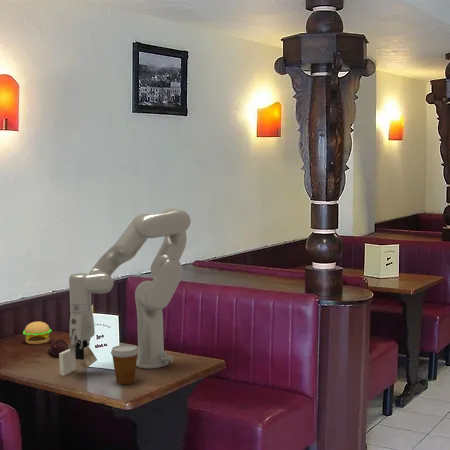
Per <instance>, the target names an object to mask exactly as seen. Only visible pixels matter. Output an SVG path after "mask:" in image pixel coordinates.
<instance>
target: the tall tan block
mask: <svg viewBox="0 0 450 450" xmlns="http://www.w3.org/2000/svg"><path fill="white" fill-rule="evenodd" d="M68 347H69V349H70V350H71V352H72V353H73V355H75V348H74V345H72V344H71V343H70V344H69V345H68ZM83 349H84V359H83V360H80V359H76V360H77V361H78V363H79V365H80V366H81V367H82V369H83V370H85V369H86V368H88V367H90V366H91V365H92V364H94V363H95V362H97V361H98V359H97V358H98V357H96V355H95V354H94V351H93V350H91V348H90V345H89V346H87V347H85V348H83Z"/></svg>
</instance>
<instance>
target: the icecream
mask: <svg viewBox="0 0 450 450" xmlns="http://www.w3.org/2000/svg"><path fill="white" fill-rule="evenodd" d="M48 345H50V347H49V349H47V354H48V355H54V357H55V356H56V357H58V358H59V353H61V352H64V351H66V350H68V349H69V347H68V346H69V345H68V343H67V342H66V341H65V340H63V339H62V338H61V339H60V338H59V339H57V340H55V339H49V341H48Z"/></svg>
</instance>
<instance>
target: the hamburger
mask: <svg viewBox="0 0 450 450" xmlns="http://www.w3.org/2000/svg"><path fill="white" fill-rule="evenodd" d="M50 333H52V329H51V328H50V326H49V325H48V324H47V323H46V322H43V321H41V320H40V321H33V322H30V323H28V324H27V325H26V326H25V328H24V330H23V331H22V334H23V335H25V343H27V344H28V345H42V344H45V343H49V340H51V338H50Z"/></svg>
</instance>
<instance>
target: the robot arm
mask: <svg viewBox="0 0 450 450" xmlns="http://www.w3.org/2000/svg"><path fill="white" fill-rule="evenodd" d="M191 221H192V220H191V216H190V215H189V214H188V212H187V211H185V210H183V209H179V208H178V209H177V208H172V207H171V208H166V209H165V210H163V211H162V212H161V213H156V214H148V213H140V214H138V215H136V216H135V217H134V218H133V219H132V220H131V222H130V223H129V225H128V226H127V227H126V229H125V230H124V231H123V232H122V234H121V235H120V236H119V238H118V239H117V240H116V242H115V243H114V244H113V245H112V246H111V247H109V249H108V250H107V251H106V252H105V253H104V254H103V255H102V256H100V257H99V259H98V260H97V261H96V263H95V264H94V265H93V267H92V268H91V269H90V270H89V272H88V273H86V272H85V273H84V272H83V273H82V272H81V273H80V272H79V273H78V272H76V273H72V274H70V275H69V278H68V285H69V286H68V288H69V312H70V313H69V315H70V317H69V338H70V339H69V340H70V345H71V344H72V345H74V348H75V359H76V360H77V359H80V360H83V359H84V349H83V348H85V347H87V346H89V347H90V340H91V338H93V337H94V336H95V334H96V333H95V319H94V314H93V310H92V294H107V293H109V292H110V291H111V290H112V289H113V287H114V283H115V282H114V279H113V277H112V274H114V272H115V271H116V270H117V269H118V268H119V267H121V266H122V265H124V264H125V263H126V262H127V263H128V262H129V261H131V260H133V259H134V257H135V256H136V255H137V253H138V252H139V251H140V249H141V248H142V247H143V246H144V245H145V243H146V242H147V240H148V239H157V238H163V241H162V244H161V245H160V248H159V250H158V252H157V253H156V255H155V258H154V259H153V261H152V263H151V266H150V273H151V275H152V277H153V279H152V280H144V281H142V282H140V283H139V284H138V285H137V286H136V289H135V292H134V300H135V306H136V317H137V318H136V319H137V345H138V346H137V349H138V354H137V356H138V358H137V362H136V368H139V369H149V370H151V369H159V368H163V367H166V366H167V365H168V364H169V363H173V362H174V356H173V355H167V351H165V350H164V347H165V345H164V342H165V341H164V317H163V315H164V314H163V309H165V308H166V307H168V305H169V303H170V302H171V301H172V298H173V296H174V294H175V293H176V291H177V288H178V287H179V284H180V282H181V280H182V278H183V272H184V271H183V270H184V269H183V266H182V263H181V262H180V260H181V258H182V256H183V253H184V251H185V249H186V246H187V239H188V237H187V230H189V228H190V225H191Z"/></svg>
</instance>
